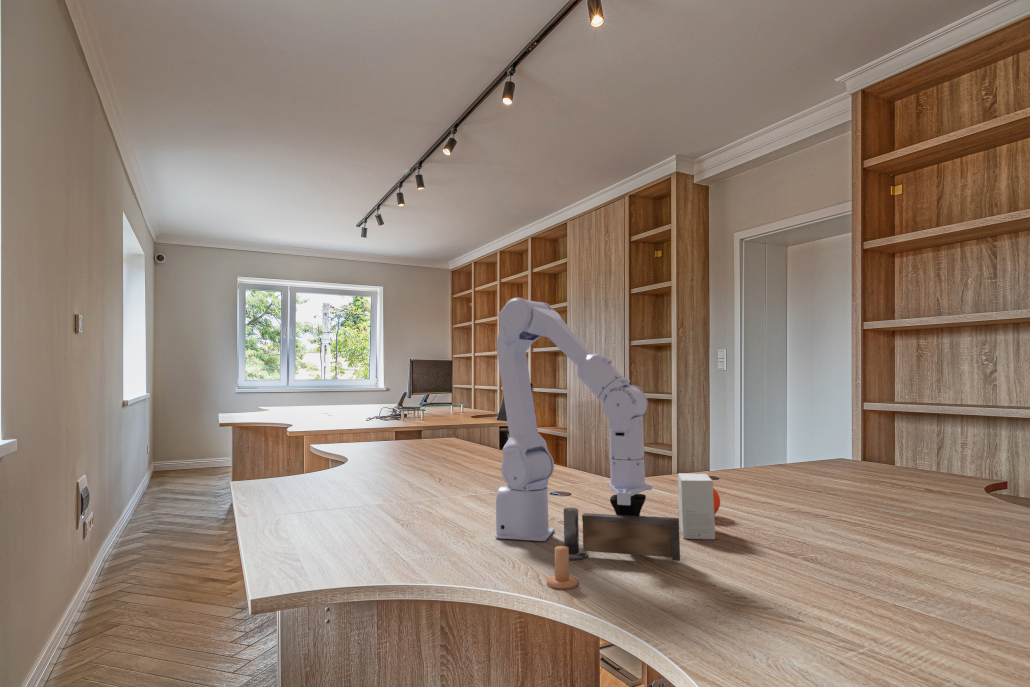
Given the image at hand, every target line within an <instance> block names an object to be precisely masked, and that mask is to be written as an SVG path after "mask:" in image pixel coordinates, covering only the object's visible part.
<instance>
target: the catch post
mask: <svg viewBox="0 0 1030 687" xmlns="http://www.w3.org/2000/svg"><path fill="white" fill-rule="evenodd" d="M578 579H579V578H578V577H577V576H576V575H575V576H574V575H572V574H570V560H569V548H568V547H566V546H564V545H558V546H557V545H556V546H555V547H554V574H552V575H549V576H547V577H546V585H547V586H548V587H549V588H552V589H556V590H569V589H570V590H571V589H574V588H576V587H577V586H578V585H579V583H578V582H579V580H578Z"/></svg>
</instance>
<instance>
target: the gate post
mask: <svg viewBox="0 0 1030 687" xmlns="http://www.w3.org/2000/svg"><path fill="white" fill-rule="evenodd" d="M579 526H580V525H579V508H577V507H565V508H563V544H564V545H563V546H566V547H568V548H569V561H580V560H584V559H586V558H587V557H588V551H583V547H580V537H579V536H580V535H579V534H580V532H579V531H580V530H579Z"/></svg>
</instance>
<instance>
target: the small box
mask: <svg viewBox="0 0 1030 687" xmlns="http://www.w3.org/2000/svg"><path fill="white" fill-rule="evenodd" d="M677 484H678V485H677V487H678V489H677V490H678V514H679V517H678V518H679V530H680V531H681V534H682V536H683V539H685V540H716V523H715V522H716V521H715V515H714V495H713V488H714V480H713V479H712V478H711V477H710V476H709V475H708V474H707V473H687V472H686V473H683V472H681V473H680V472H679V473H677Z"/></svg>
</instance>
